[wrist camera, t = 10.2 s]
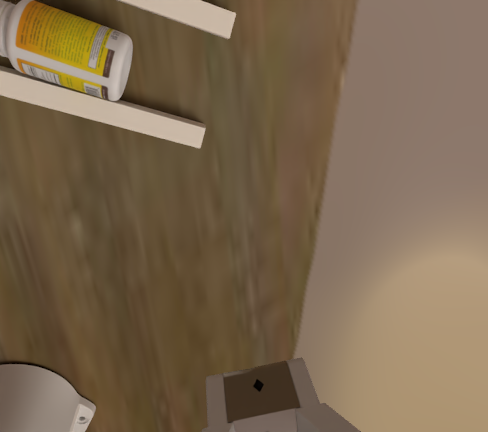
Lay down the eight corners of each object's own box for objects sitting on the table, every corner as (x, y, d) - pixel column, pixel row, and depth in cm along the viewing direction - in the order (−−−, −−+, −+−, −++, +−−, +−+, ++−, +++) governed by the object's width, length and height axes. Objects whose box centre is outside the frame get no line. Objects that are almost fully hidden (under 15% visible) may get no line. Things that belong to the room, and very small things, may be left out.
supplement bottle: (138, 24, 31) (3, -27, 28) (122, 58, 27) (-34, 3, 24) (129, 81, 35) (11, 40, 32) (114, 116, 31) (-20, 75, 28)
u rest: (199, 143, 37) (200, 150, 34) (-47, 76, 32) (-69, 79, 29) (233, 15, 33) (237, 12, 30) (-47, -88, 27) (-73, -103, 24)
